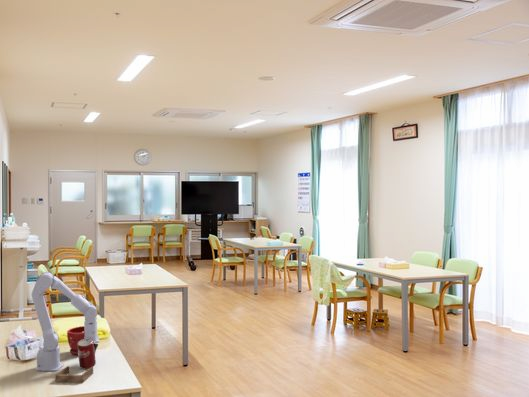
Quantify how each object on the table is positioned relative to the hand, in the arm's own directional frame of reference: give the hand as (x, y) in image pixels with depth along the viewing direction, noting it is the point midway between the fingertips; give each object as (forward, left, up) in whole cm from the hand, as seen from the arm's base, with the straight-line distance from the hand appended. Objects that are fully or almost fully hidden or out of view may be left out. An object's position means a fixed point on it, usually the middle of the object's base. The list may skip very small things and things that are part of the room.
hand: (91, 359), depth 260 cm
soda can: (0, -4, -2) cm, 4 cm away
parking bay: (0, -18, -2) cm, 18 cm away
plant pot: (-12, +17, -2) cm, 21 cm away
